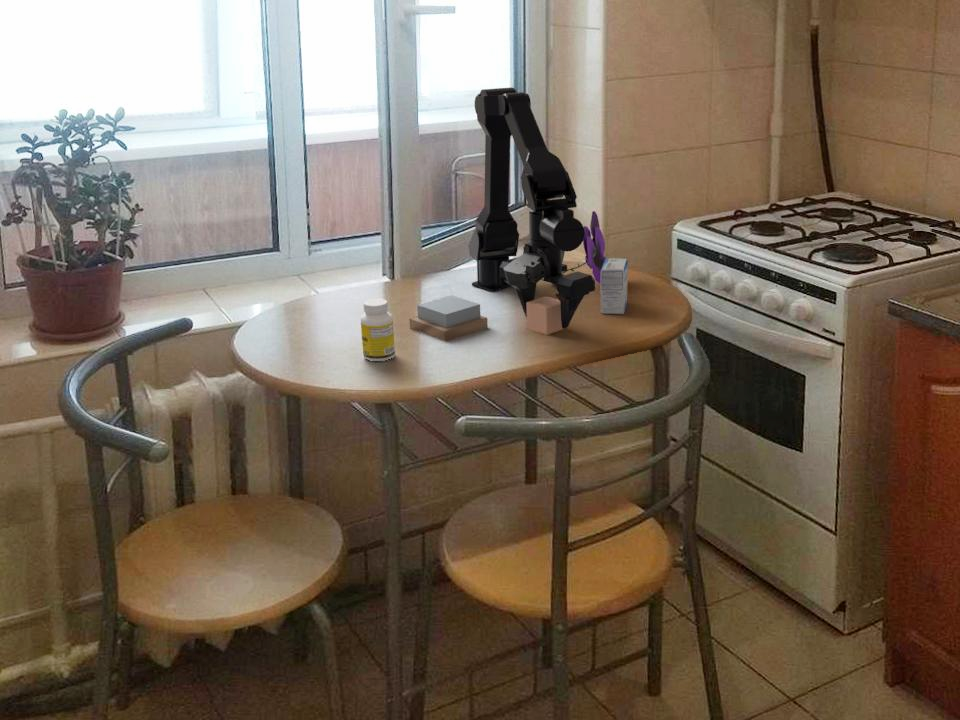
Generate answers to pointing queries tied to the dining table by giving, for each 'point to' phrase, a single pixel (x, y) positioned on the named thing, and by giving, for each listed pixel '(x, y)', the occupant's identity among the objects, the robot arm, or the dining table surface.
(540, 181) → the robot arm
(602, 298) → the medicine box
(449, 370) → the dining table surface
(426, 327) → the bottom block
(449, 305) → the top block
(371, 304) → the supplement bottle
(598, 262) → the flower
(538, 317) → the terracotta cube
